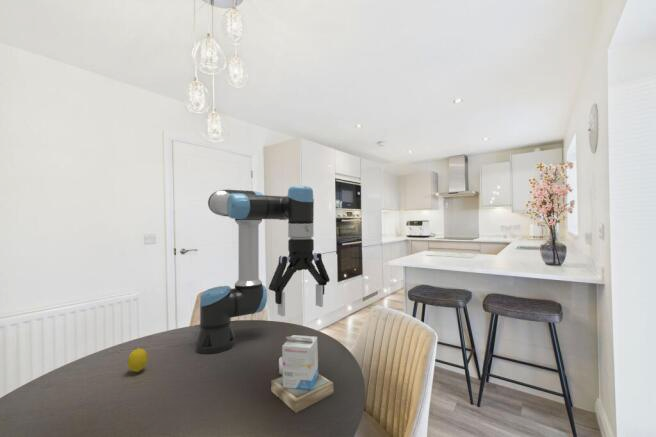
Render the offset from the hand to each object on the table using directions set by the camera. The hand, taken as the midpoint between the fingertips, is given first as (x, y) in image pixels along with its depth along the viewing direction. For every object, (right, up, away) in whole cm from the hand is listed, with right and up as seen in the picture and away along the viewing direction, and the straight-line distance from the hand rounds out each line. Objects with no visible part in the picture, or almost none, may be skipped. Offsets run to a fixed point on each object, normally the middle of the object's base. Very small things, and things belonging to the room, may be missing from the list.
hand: (301, 310), depth 83 cm
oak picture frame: (0, -24, -1) cm, 24 cm away
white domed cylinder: (-5, -24, +12) cm, 27 cm away
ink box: (0, -21, -1) cm, 21 cm away
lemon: (-56, -25, +11) cm, 62 cm away
